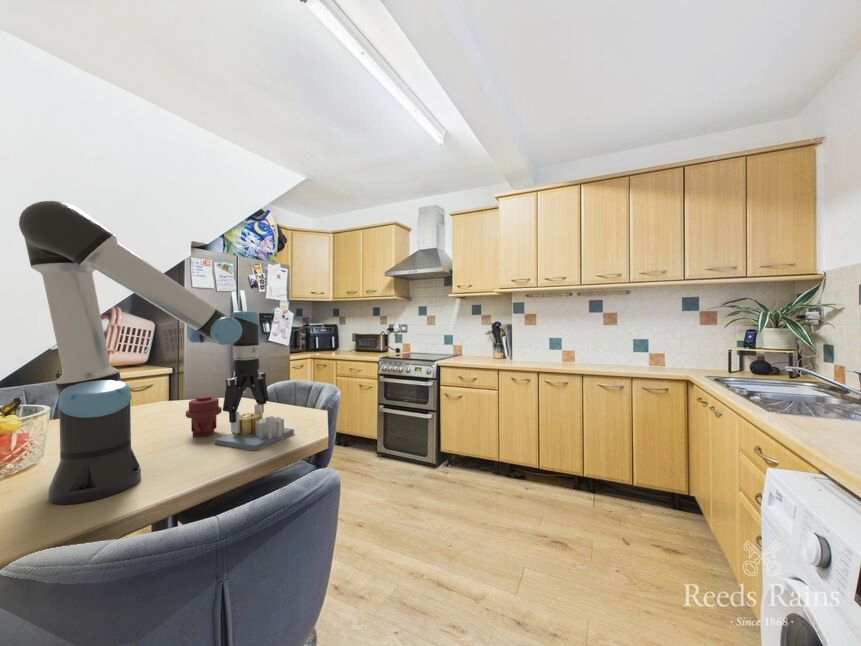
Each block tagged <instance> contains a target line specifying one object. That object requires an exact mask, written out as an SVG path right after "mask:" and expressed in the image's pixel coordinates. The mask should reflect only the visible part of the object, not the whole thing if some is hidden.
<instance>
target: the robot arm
mask: <svg viewBox="0 0 861 646" xmlns="http://www.w3.org/2000/svg"><path fill="white" fill-rule="evenodd" d="M18 219H19V220H18V226H19V230H20V232H21V235H23V238H24V242H25V245H26V250H27V255H28V260H29V263H30V268H31V269H33V270H34V271H36V272H38V273H40V274H41V275H42V279H43V280H42V281H43V285H44V289H45V294H46V299H47V304H48V309H49V313H50V317H51V322H52V328H53V332H54V337H55V338H54V339H55V343H56V346H57V347H56V348H57V351H58V356H59V362H60V365H61V370H62V374H61V375H60V377H58V378H57V379H56V380H55V386H56V390H57V396H58V401H57V402H58V403H57V405H58V406H57V407H58V411H59V453H60V455H59V456H60V457H59V463H58V466H57V468H56V470H55V473H54V476H53V478H52V480H51V483H50V485H49V488H48V501H49V502H50V503H51V504H55V505H73V504H74V505H75V504H79V503H80V504H81V503H86V502H91V501H95V500H99V499H103V498H107V497H110V496H112V495H116V494H119V493H121V492H123V491H125V490H127V489H130V488H131V487H133V486H134V485H136V484H137V483H138V482H140V480H142V479H141V478H142V468H141V466H140V463H139V461H138V459H137V457H136V454H135V453H134V451H133V449H132V428H131V427H132V422H131V419H132V418H131V401H132V398H133V397H132V395H133V394H132V392H131V387H130V385H129V384H127V383H126V382H124V381H122V378H121V374H120V370H119V369H117V368H116V367H113V366H112V365H111V363H110V357H109V351H108V347H107V342H106V336H105V331H104V326H103V321H102V317H101V316H102V315H101V311H100V306H99V300H98V295H97V291H96V286H95V279H94V276H93V275H94V274H93V272H95V271H98V272H99V273H101V274H102V275H104V276H106V277H107V278H109V279H110V280H112V281H114V282H116V283H117V284H119V285H121V286H122V287H124V288H126V289H128V291H130V292H132V293H134V294H135V295H137V296H139V297H140V298H141V299H143V300H145V301H147V302H148V303H150V304H151V305H153V306H155V307H156V308H159V309H161V310H162V311H163V312H165V313H167V314H168V315H170V316H172V317H173V318H174V319H176V320H178V321H180V322H181V323H183V324H185V325H186V335H187V336H186V337H187V339H188V341H189V342H190V343H195V344H196V343H200V344H202V343H212V344H217V345H221V346H224V345H231V344H232V357H233V359H234V360H233V361H232V362H233V364H232V365H233V366H232V367H233V368H232V370H233V371H234V376H233V377H232V378H226V379H225V385H226V387H225V394H224V398H223V399H224V400H223V403H222V411H223V412H227V413H228V421H229V424H230V432H231V433H232V432H234V433H239V432H240V425H239V415H240V411H238V408H239V406H240V402H241V400H242V398H243V394H244V392H245V391H246V390H247V388H249V389H250V392H251V394H252V396H253V398H254V400H255V404H254V413H259V414H262V419H264V418H263V417H264V416H263V415H264V410H265V408H264V406H265V405H266V404H267V402H268V401H269V393H268V388H267V383H266V378H267V377H266V376H267V375H266V373H265V372H259V371H258V370H260V359H259V358H258V357H259V356H260V335H259V334H260V321H259V313H258V312H257V311H253V310H240V311H239V310H236V311H235V310H234V311H233V312H232V315H231V316H227V315H225V314H224V313H223V312H221V311H219V310H218V309H216V308H215V307H214V306H212V304H210V303H207V302H206V301H205V300H204V299H202V298H201V297H199V296H198V295H196V294H195V293H193V292H192V291H190V290H189V289H187V288H186V287H184V286H183V285H181V284H179V282H177V281H176V280H174V279H172V278H171V277H170V276H168V275H167V274H165V273H163V272H162V271H160V270H159V269H157V267H155V266H154V265H152V264H150V263H149V262H148V261H146V260H144V259H143V258H141V257H140V256H138V255H137V254H136V253H134V252H133V251H131V250H130V249H128V248H127V247H125V246H124V245H122V244H121V243H119V242H118V240H117V239H118V238H117V236H116V235H115V234H114V233H113V232H111V231H110V230H108V229H107V228H106V227H104V226H103V225H102V224H100V223H99V222H98V221H96V220H95V219H93V217H91V216H90V215H88V214H87V213H86V212H84V211H82V210H81V209H79V208H78V207H76V206H74V205H71V204H69V203H66V202H62V201H57V200H44V201H42V200H41V201H38V202H35V203H32V204H30V205H28V206H27V207H25V208H24V209H23V211H22V212H21V214H20V216H19V218H18Z"/></svg>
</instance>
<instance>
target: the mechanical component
mask: <svg viewBox="0 0 861 646" xmlns="http://www.w3.org/2000/svg"><path fill="white" fill-rule="evenodd" d="M219 400H220V399H219V398H218V397H212V396H210V395H202V396H197V398H194V399H192V400H190V401H189V402H188V410H186V411H185V417H186V418H188V419H191V424H190V425H191V426H190V427H191V428H190V429H191V432H192V437H193V436H196V437H201V436H200V435H202V436H212V435H211V434H213V435H214V434H215V430H216V429H217V424H218V423H217V416H218V415H221V413H222V411H223V407H221V406H219V404H220V401H219Z"/></svg>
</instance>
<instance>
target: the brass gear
mask: <svg viewBox="0 0 861 646" xmlns="http://www.w3.org/2000/svg"><path fill="white" fill-rule="evenodd" d="M246 415H251V417H250V418H243V416H246ZM260 419H262V414H259V413H255V412H253V413H252V412H246V413H242V414H239V425H240V432H239V433H235V435H236V436H238V435H245V436H246V435H249V434H254V433H256V422H258V421H259V420H260ZM231 433H232V434H234V432H231Z"/></svg>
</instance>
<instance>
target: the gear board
mask: <svg viewBox="0 0 861 646" xmlns="http://www.w3.org/2000/svg"><path fill="white" fill-rule="evenodd" d="M250 417H251V415H246V416H243V418H250ZM293 433H294V434H295V429H294V428H286V427H285V418H281V417H280V416H276V417H275V416H273V415H271V416H266V417H265V418H263V419H260V420H259V421H258V422H256V433H254V434H249V435H246V436H245V435H238V436H236V435H235V433H234V434H232V432H231V433H228V434H225V435H223V436H219V437H217V438H214V445H216V444H218V445H217V446H222V445H224V447H228V446H230V448H235V447H236V448H237V449H242V450H249V451H255V452H256V451H258V450H260V449H262V447H263V448H265V447H267V446H269V445H271V443H272V444H274V443H276V442H278V441H280V439H281V440H283V439H285V438H287V437H290V436H292V435H294V434H293ZM291 434H292V435H291ZM289 435H290V436H289ZM282 438H283V439H282ZM277 440H278V441H277ZM275 441H276V442H275ZM273 442H274V443H273ZM236 448H235V449H236Z"/></svg>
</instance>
